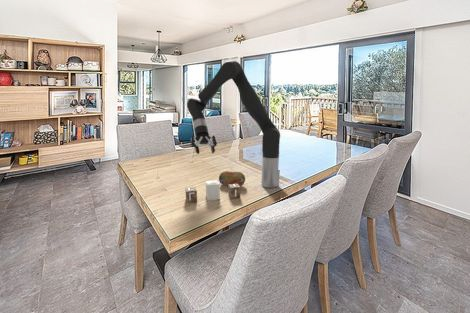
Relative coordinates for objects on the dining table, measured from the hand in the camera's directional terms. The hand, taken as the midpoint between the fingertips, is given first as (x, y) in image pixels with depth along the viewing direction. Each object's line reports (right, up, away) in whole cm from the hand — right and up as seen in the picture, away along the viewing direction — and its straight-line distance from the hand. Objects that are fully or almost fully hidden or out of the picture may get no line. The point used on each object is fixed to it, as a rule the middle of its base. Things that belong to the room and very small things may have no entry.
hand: (206, 153), depth 148 cm
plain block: (+5, -23, -10) cm, 25 cm away
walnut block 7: (-6, -24, -14) cm, 28 cm away
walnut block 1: (+16, -23, -9) cm, 29 cm away
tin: (+14, -19, +7) cm, 25 cm away
